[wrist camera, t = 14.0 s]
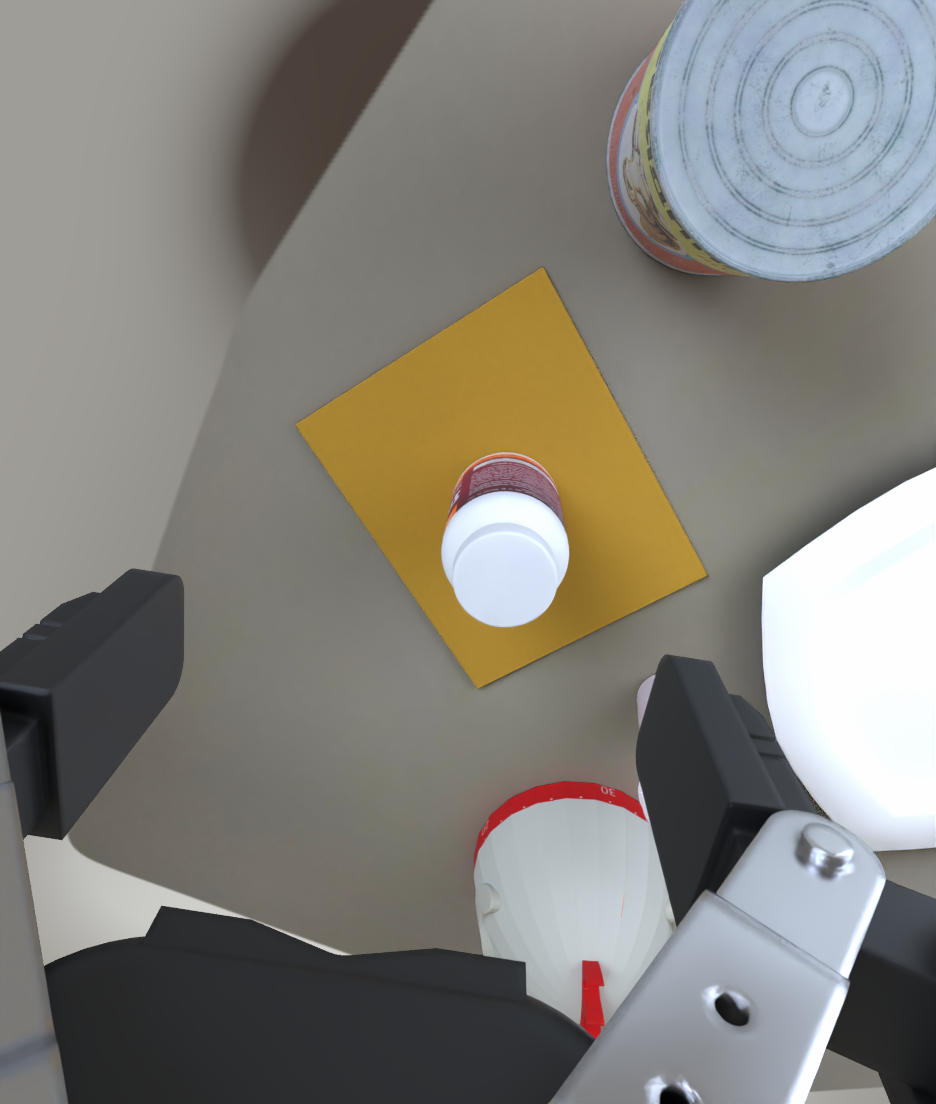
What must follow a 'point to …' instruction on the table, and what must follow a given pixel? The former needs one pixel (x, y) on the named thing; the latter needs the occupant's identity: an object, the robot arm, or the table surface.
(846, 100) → the canned food
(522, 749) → the table surface
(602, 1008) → the kitchen timer
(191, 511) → the table surface
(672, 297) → the table surface
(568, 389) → the cloth
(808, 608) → the plate
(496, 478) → the pill bottle
